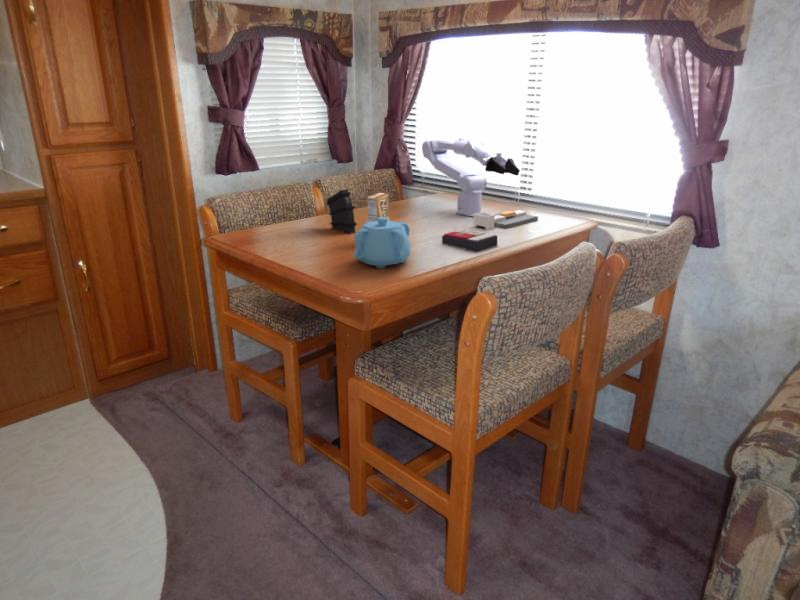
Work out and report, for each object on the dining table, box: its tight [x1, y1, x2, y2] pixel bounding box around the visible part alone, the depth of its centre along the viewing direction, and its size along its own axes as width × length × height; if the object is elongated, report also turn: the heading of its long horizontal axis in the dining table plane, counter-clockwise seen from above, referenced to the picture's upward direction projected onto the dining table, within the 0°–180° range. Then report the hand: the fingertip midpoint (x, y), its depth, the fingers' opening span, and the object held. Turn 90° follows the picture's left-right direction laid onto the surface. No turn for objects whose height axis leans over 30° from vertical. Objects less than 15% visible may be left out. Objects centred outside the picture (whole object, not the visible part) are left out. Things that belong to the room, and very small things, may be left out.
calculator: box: [441, 228, 498, 253], centre depth 188 cm, size 11×4×15 cm
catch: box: [500, 210, 516, 217], centre depth 218 cm, size 3×6×1 cm, turn 132°
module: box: [473, 211, 495, 231], centre depth 210 cm, size 6×4×5 cm, turn 42°
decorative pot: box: [353, 217, 412, 269], centre depth 168 cm, size 16×16×14 cm
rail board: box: [493, 210, 539, 230], centre depth 219 cm, size 14×20×3 cm
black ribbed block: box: [326, 188, 357, 235], centre depth 206 cm, size 4×13×15 cm, turn 40°
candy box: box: [366, 192, 390, 222], centre depth 192 cm, size 9×4×15 cm, turn 156°
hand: (511, 172), depth 209 cm, fingers open, 7 cm apart
